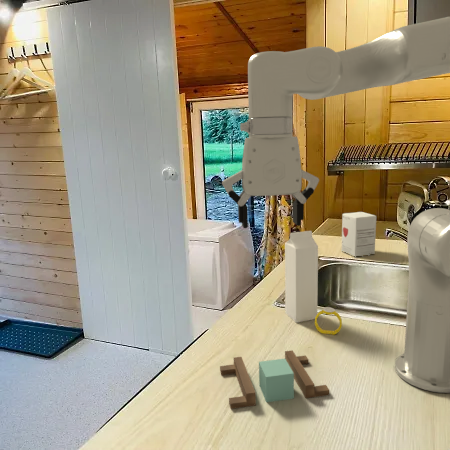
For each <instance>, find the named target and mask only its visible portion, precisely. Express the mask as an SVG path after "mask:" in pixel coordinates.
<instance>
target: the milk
mask: <svg viewBox="0 0 450 450" xmlns="http://www.w3.org/2000/svg"><path fill="white" fill-rule="evenodd" d="M318 269H319V245H318V244H317V242H316V241H315V238H314V237H313V232H312V230H305V231H297V232H291V233H289V240H287V241H286V242H285V243H284V278H285V279H284V287H285V288H284V291H285V293H284V296H285V298H284V299H285V300H284V302H285V303H284V304H285V309H284V311H285V314H286V315H287V316H288V317H289V318H290V319H291V320H293V321H294V322H295V323H302V322H307V321H312V320H315V317H316V315H317V314H318V283H319V281H318V278H319V277H318V275H319V274H318V273H319V270H318Z"/></svg>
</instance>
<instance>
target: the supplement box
mask: <svg viewBox="0 0 450 450" xmlns="http://www.w3.org/2000/svg"><path fill="white" fill-rule="evenodd" d="M341 216H342V218H341V219H342V222H341V223H342V224H341V252H342V251H344V252H346V253H349V254H351V255H353V256H355V257H354V258H357V257H356V256H362V257H364V256H363V255H368V256H371V255H370V254H375V253H376V252H375V250H376V231H377V230H376V229H377V215H375V214H371V213H369V212H368V213H367V212H363V211H357V212H344V213H342V215H341ZM344 252H343V253H344ZM346 253H345V254H346ZM351 255H350V256H351ZM375 255H376V254H375ZM353 256H352V257H353Z"/></svg>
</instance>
